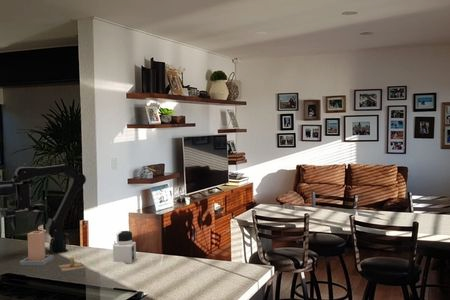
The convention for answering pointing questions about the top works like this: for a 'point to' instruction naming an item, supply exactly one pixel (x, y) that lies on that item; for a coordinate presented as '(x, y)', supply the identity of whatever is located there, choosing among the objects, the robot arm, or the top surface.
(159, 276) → the top surface
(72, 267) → the stake block
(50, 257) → the tray
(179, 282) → the top surface
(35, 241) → the sleeve
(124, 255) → the container
